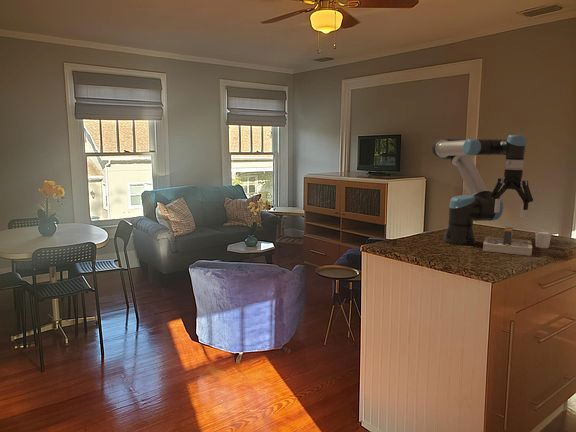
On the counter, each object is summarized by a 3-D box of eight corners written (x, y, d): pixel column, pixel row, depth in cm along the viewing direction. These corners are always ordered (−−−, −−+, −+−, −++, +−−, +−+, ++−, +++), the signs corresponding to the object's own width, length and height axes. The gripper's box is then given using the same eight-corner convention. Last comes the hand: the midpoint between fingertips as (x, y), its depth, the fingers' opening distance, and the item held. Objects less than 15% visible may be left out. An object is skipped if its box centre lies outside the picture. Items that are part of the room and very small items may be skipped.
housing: (482, 250, 209) (483, 242, 208) (485, 243, 225) (486, 235, 224) (531, 255, 200) (532, 247, 199) (530, 247, 216) (531, 239, 215)
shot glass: (542, 248, 214) (543, 234, 212) (530, 245, 220) (532, 231, 219) (553, 247, 215) (555, 233, 214) (542, 244, 222) (543, 231, 221)
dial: (494, 240, 220) (495, 224, 218) (522, 243, 214) (523, 226, 213) (492, 245, 209) (493, 228, 208) (521, 248, 204) (523, 231, 202)
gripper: (485, 167, 215) (481, 211, 219) (534, 171, 194) (529, 219, 197) (495, 167, 219) (491, 210, 222) (545, 170, 197) (539, 218, 201)
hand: (509, 214), depth 210 cm, fingers open, 13 cm apart
